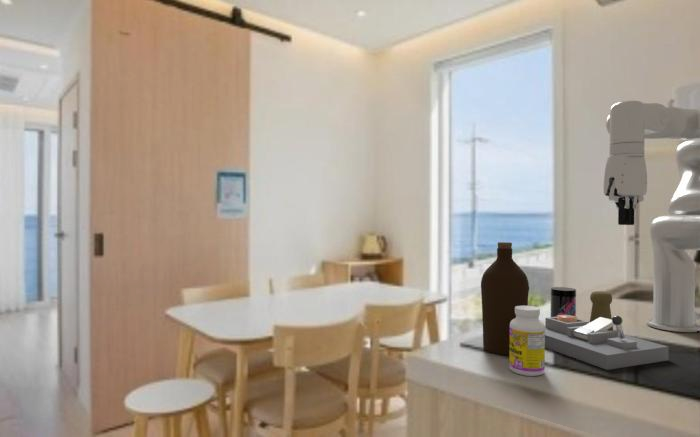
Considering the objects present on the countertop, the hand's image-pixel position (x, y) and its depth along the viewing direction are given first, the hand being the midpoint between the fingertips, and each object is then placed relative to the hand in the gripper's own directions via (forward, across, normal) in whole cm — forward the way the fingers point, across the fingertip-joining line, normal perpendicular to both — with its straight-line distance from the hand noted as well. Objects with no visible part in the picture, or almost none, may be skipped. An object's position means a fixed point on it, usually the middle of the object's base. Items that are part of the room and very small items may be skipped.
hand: (626, 224), depth 116 cm
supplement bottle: (+29, +40, +10) cm, 51 cm away
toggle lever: (+24, +15, +11) cm, 31 cm away
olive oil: (+29, +34, -4) cm, 45 cm away
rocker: (+24, +15, +4) cm, 28 cm away
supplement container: (+29, +2, -18) cm, 34 cm away
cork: (+29, -1, -8) cm, 30 cm away
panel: (+29, +15, +3) cm, 33 cm away
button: (+26, +15, -4) cm, 30 cm away
